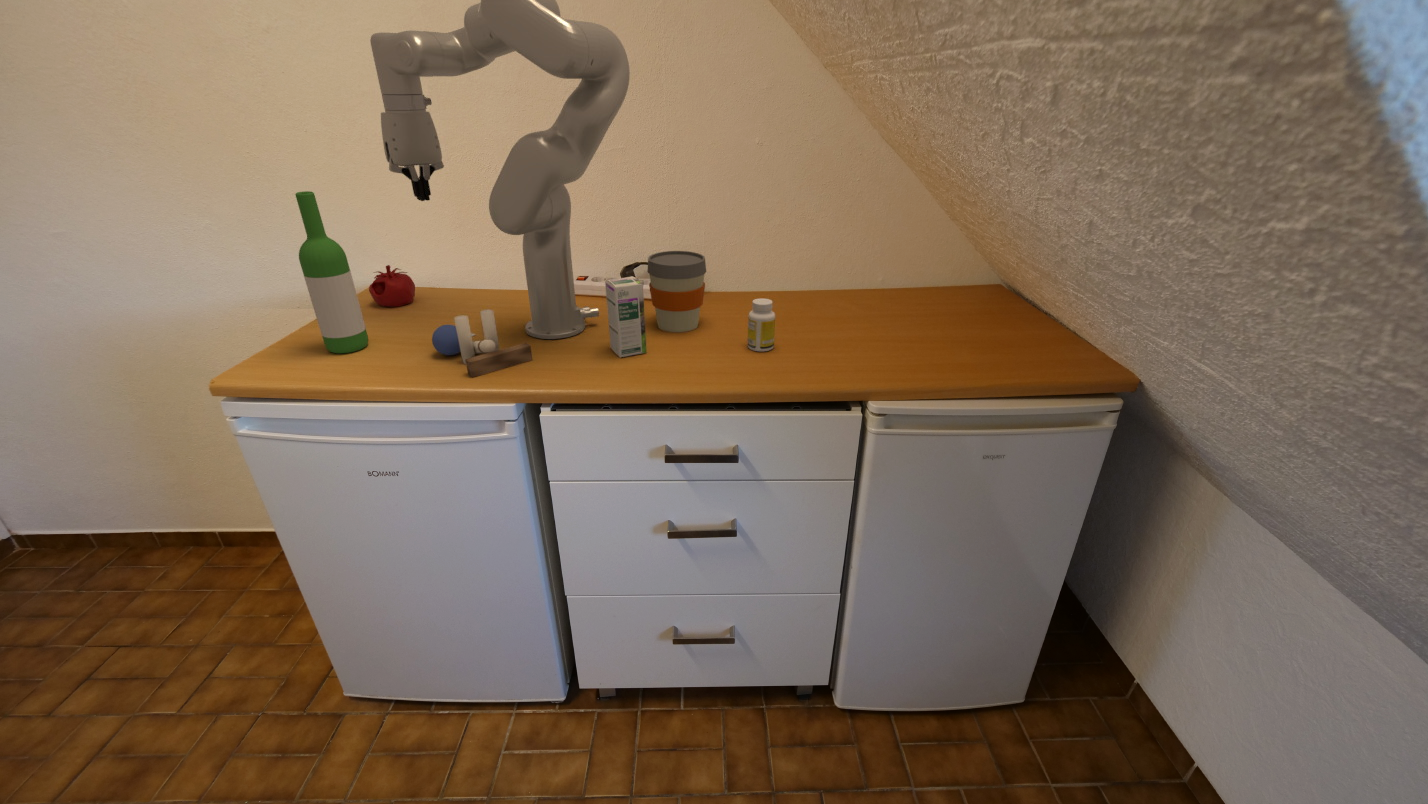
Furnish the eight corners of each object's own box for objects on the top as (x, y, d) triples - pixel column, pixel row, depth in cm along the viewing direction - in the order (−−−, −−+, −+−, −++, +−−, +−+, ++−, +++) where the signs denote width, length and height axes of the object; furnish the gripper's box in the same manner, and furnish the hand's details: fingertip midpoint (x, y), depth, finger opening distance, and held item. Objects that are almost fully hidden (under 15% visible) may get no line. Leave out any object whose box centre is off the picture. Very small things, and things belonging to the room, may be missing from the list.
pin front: (479, 341, 124) (495, 339, 117) (480, 353, 124) (496, 352, 117) (466, 341, 123) (481, 339, 116) (467, 354, 123) (482, 352, 116)
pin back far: (475, 358, 122) (466, 314, 117) (476, 362, 120) (468, 318, 116) (462, 360, 121) (453, 316, 116) (463, 365, 119) (455, 320, 115)
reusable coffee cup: (673, 340, 131) (671, 269, 124) (638, 323, 139) (635, 257, 132) (717, 326, 138) (718, 259, 131) (682, 311, 147) (681, 247, 140)
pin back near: (499, 351, 125) (492, 308, 120) (501, 356, 123) (494, 312, 119) (486, 353, 124) (479, 310, 119) (488, 358, 122) (481, 314, 118)
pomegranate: (413, 295, 156) (406, 258, 152) (421, 305, 149) (414, 267, 145) (369, 300, 151) (361, 262, 147) (375, 312, 144) (366, 272, 140)
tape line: (473, 334, 133) (473, 333, 133) (475, 335, 132) (475, 334, 132) (435, 343, 128) (435, 342, 128) (437, 345, 127) (437, 344, 127)
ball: (469, 340, 120) (473, 334, 126) (441, 321, 118) (447, 316, 123) (450, 364, 120) (455, 357, 126) (422, 345, 118) (428, 339, 124)
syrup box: (619, 358, 122) (615, 286, 115) (609, 348, 127) (604, 278, 120) (646, 353, 125) (643, 282, 118) (636, 343, 129) (632, 274, 122)
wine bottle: (340, 358, 121) (293, 198, 107) (318, 349, 125) (269, 193, 111) (378, 345, 127) (338, 191, 113) (355, 337, 130) (314, 187, 116)
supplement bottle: (776, 344, 129) (779, 298, 125) (769, 354, 125) (772, 307, 120) (751, 340, 131) (753, 295, 126) (744, 350, 126) (745, 304, 122)
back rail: (527, 356, 122) (525, 342, 121) (532, 360, 121) (530, 345, 120) (468, 374, 115) (465, 359, 114) (472, 377, 114) (469, 362, 113)
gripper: (435, 103, 131) (451, 193, 140) (358, 104, 123) (380, 201, 131) (449, 104, 127) (465, 198, 135) (370, 106, 118) (392, 206, 126)
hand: (423, 199), depth 133 cm, fingers closed
